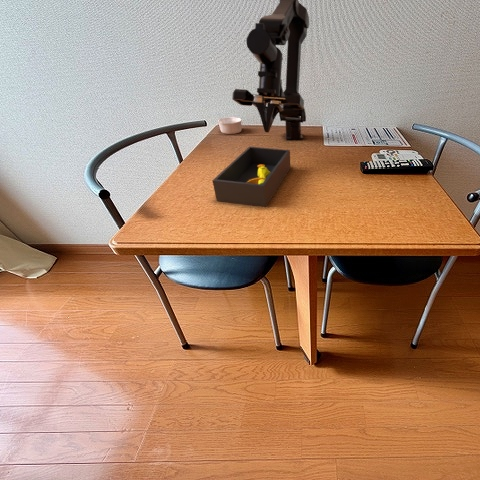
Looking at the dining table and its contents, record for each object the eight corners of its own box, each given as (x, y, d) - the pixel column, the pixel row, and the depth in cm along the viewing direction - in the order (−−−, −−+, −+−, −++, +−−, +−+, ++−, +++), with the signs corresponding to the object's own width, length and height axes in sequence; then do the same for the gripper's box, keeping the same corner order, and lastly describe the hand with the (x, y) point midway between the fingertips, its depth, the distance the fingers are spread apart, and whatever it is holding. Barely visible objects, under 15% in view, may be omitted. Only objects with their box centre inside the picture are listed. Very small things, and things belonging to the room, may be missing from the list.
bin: (251, 164, 88) (249, 146, 85) (290, 168, 87) (289, 150, 83) (216, 201, 70) (212, 180, 66) (265, 206, 68) (263, 185, 65)
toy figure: (250, 174, 82) (247, 197, 72) (247, 163, 79) (243, 185, 70) (274, 171, 82) (273, 193, 73) (271, 159, 79) (270, 181, 70)
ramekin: (223, 127, 117) (221, 116, 114) (245, 128, 117) (243, 117, 114) (216, 134, 110) (214, 122, 107) (240, 135, 110) (238, 123, 107)
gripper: (309, 84, 84) (304, 140, 87) (248, 80, 86) (246, 135, 89) (302, 69, 73) (296, 133, 76) (232, 65, 75) (230, 127, 78)
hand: (266, 132), depth 80 cm, fingers closed
